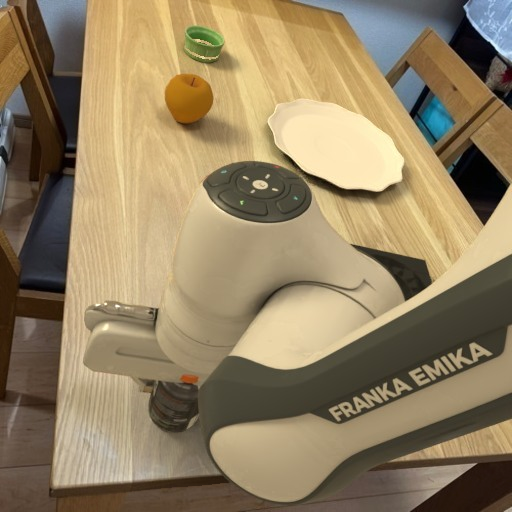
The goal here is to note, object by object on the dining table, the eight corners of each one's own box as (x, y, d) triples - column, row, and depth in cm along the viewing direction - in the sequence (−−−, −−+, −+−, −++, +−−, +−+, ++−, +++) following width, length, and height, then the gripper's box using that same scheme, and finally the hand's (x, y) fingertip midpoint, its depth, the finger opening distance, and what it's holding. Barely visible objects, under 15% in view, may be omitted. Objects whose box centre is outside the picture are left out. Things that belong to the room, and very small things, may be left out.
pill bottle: (209, 418, 56) (234, 371, 48) (162, 443, 53) (181, 397, 45) (184, 375, 59) (203, 324, 51) (138, 396, 55) (151, 345, 47)
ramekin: (224, 53, 116) (229, 35, 112) (214, 69, 109) (218, 50, 106) (188, 39, 115) (192, 20, 112) (176, 54, 109) (179, 35, 106)
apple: (185, 140, 89) (194, 97, 83) (149, 114, 91) (156, 70, 85) (216, 125, 95) (227, 84, 89) (182, 101, 97) (191, 59, 91)
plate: (285, 193, 87) (290, 183, 86) (252, 99, 105) (255, 89, 104) (420, 204, 98) (427, 195, 96) (369, 117, 116) (374, 108, 114)
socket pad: (439, 352, 73) (450, 342, 71) (339, 335, 70) (348, 323, 67) (416, 271, 84) (425, 259, 82) (329, 252, 80) (336, 240, 78)
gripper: (76, 330, 39) (72, 405, 48) (318, 369, 43) (270, 431, 53) (94, 270, 43) (88, 350, 53) (313, 310, 47) (269, 378, 57)
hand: (180, 391), depth 53 cm, fingers closed on pill bottle, 6 cm apart
